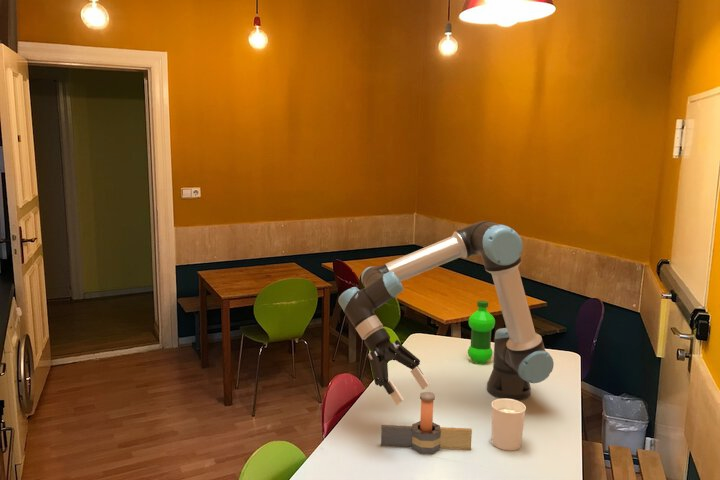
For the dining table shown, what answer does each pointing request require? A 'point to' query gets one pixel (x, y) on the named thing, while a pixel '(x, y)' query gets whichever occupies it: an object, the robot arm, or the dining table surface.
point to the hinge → (426, 438)
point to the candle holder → (507, 423)
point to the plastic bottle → (481, 334)
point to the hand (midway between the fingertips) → (413, 394)
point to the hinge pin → (426, 411)
